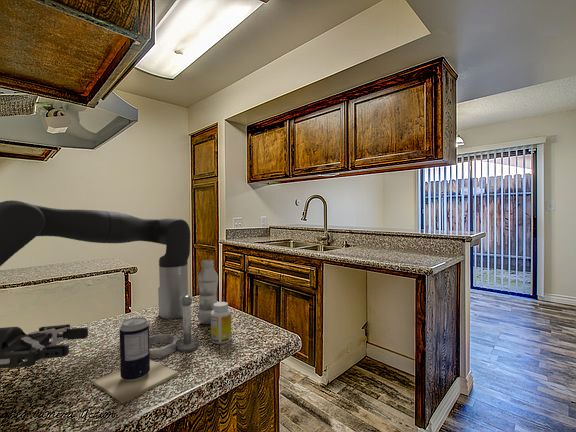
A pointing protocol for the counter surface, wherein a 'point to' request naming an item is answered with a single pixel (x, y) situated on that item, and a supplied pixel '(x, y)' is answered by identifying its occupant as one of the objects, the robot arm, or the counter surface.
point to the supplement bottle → (220, 323)
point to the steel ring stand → (174, 345)
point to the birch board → (134, 382)
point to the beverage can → (134, 349)
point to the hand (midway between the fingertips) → (78, 340)
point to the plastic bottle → (207, 291)
